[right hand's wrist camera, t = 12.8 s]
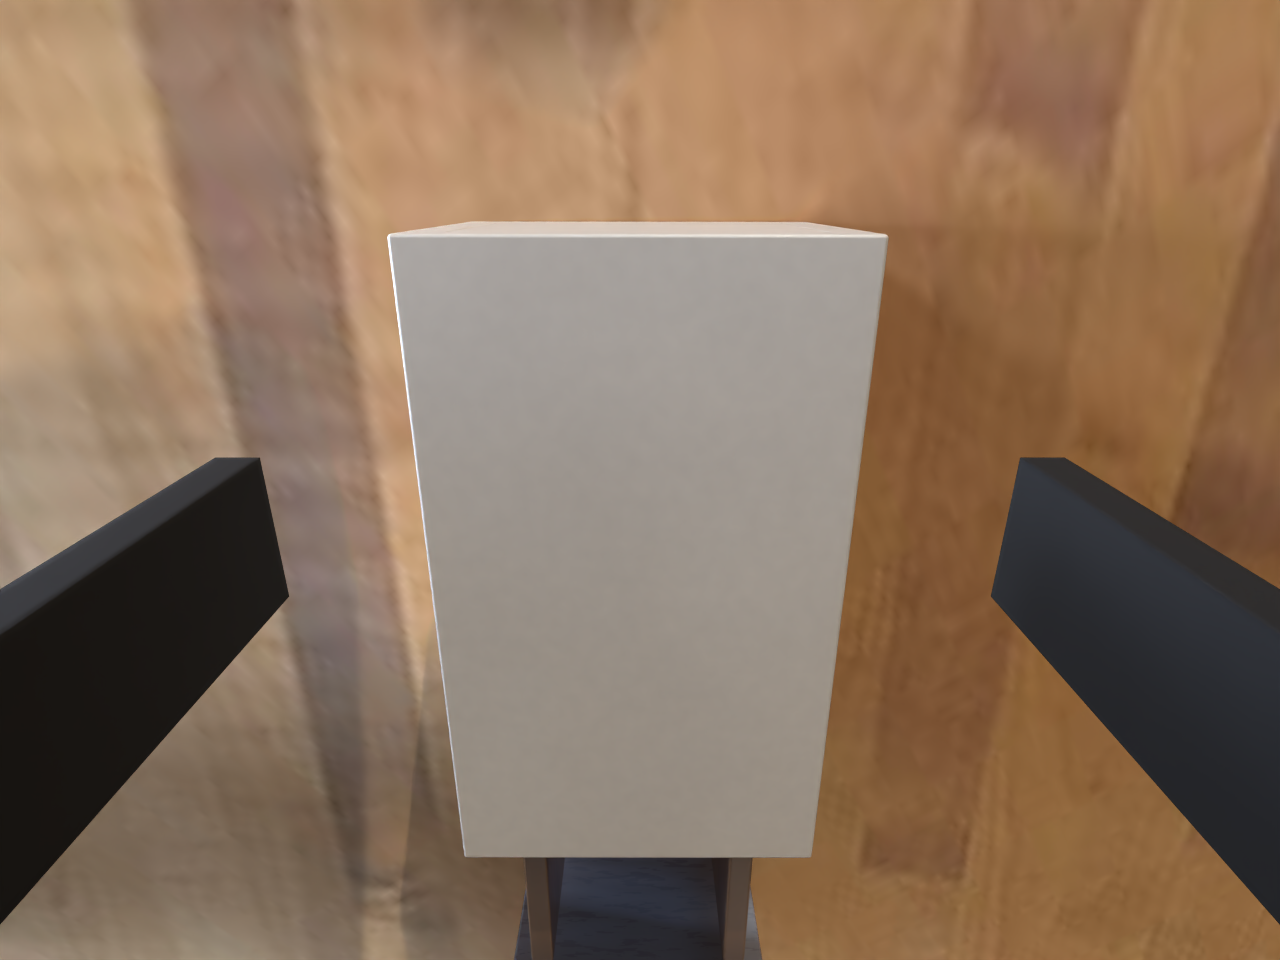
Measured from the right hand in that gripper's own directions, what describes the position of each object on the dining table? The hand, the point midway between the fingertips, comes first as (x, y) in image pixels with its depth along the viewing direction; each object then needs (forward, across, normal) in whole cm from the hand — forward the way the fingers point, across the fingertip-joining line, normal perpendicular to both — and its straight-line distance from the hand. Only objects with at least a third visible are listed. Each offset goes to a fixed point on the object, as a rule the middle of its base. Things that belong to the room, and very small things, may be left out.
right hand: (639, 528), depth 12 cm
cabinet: (+13, 0, -4) cm, 14 cm away
